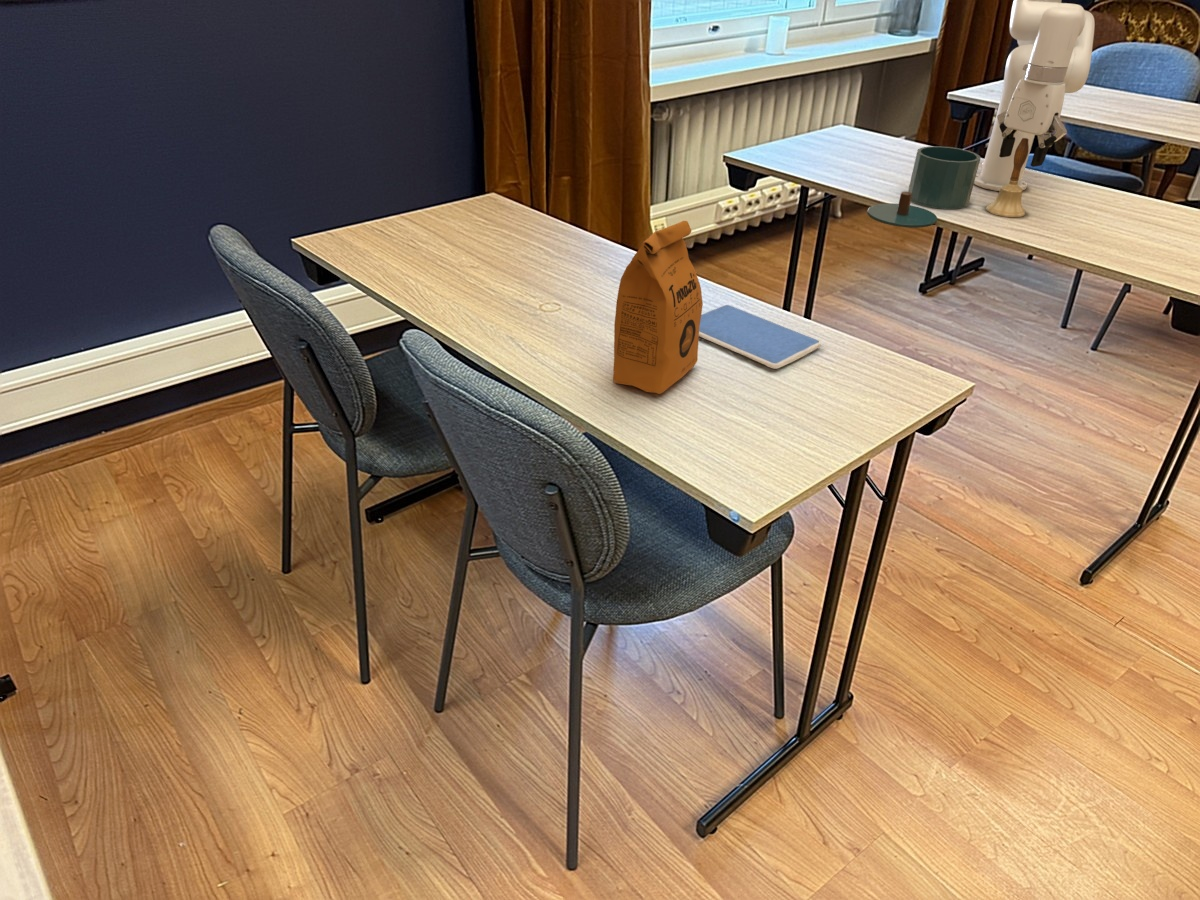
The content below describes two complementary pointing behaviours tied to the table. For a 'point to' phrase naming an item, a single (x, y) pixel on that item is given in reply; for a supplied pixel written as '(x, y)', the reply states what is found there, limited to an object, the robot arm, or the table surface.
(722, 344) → the tablet
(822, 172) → the table surface
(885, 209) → the tin lid
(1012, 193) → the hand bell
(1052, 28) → the robot arm
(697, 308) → the coffee package
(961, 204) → the tin
